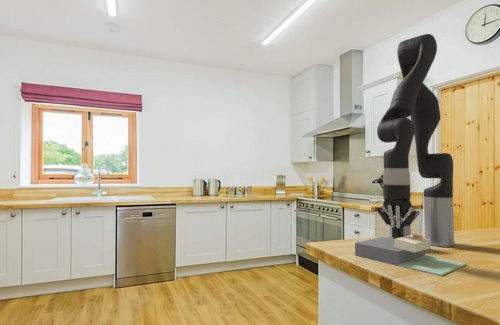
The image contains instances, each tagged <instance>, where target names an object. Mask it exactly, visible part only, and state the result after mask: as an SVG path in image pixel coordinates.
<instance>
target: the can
mask: <svg viewBox="0 0 500 325" xmlns="http://www.w3.org/2000/svg"><path fill="white" fill-rule="evenodd" d="M408 213H409V212H408ZM408 213H407V214H406V216H405V219H406V218H407V217H408V216H409V214H408ZM411 225H412V223H411V224H410V226H406V227H404V228H403V234H404V237H405V236H409V235H411V236H412V232H411V231H412V230H411V229H412V228H411V227H412V226H411ZM386 227H387V228H386V229H387V237H388V238H393V237H392V227H391V226H390V225H387V224H386Z"/></svg>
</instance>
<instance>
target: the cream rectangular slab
mask: <svg viewBox="0 0 500 325" xmlns="http://www.w3.org/2000/svg"><path fill="white" fill-rule="evenodd" d="M394 247H395V248H399V249H403V250H406V251H410V252H414V253H415V252H419V251H422V250H425V251H426V250H428V249H431V245H430V239H425V237H424V236H423V234H420V233H413V234H411V235H409V236H405V237H400V238H396V239H394Z"/></svg>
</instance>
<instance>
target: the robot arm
mask: <svg viewBox="0 0 500 325" xmlns="http://www.w3.org/2000/svg"><path fill="white" fill-rule="evenodd" d="M396 50H397V52H396V53H397V60H398V64H399V65H398V66H399V68H400V72H401V75H402V80H401V82H400V83H399V84H398V85H397V86H396V88H395V90H394V92H393V95H392V98H391V102H390V105H389V108H388V109H387V110H386V111H385V113H384V115H383V116H382V117H381V119H380V121H379V123H378V125H377V130H376V133H377V137H378V139H379V140H380V142H382V143H388V144H389V143H395V145H394V147H393V148H390V149H387V150H385V151H384V152H383V173H382V174H383V175H382V176H383V177H382V183H383V184H382V185H383V187H382V188H383V191H382V192H383V202H382V205H381V206H380V207H377V208H376V212H377V213H378V214H379V216H380V217H381V219H382V220H383V221H384V223H385V225H386V226H387V225H390V226H391V227H392V237H393V238H394V239H396V238H400V237H404V234H403V228H404V227H406V226H410V224H411V225H412V223H413V222H414V221H415V220H416V218H417V217H418V216H419V215H420V213H421V212H420V211H419V210H416V209H415V208H414V207H413V205H412V203H411V176H410V169H409V166H410V165H409V164H410V163H409V157H410V155H409V154H410V151H411V147H412V143H413V140H414V142H415V143H414V144H415V152H416V160H417V161H416V163H417V170H418V173H419V175H420V177H421V178H422V179H440V180H439V182H438V183H437V184H435V185H433V186H431V187H427V188H424V189H423V213H424V214H423V219H424V238H425V239H430V246H436V247H443V248H445V247H447V248H448V247H454V246H455V243H456V242H455V221H454V219H455V217H454V216H455V215H454V195H453V194H454V159H453V157H452V155H451V153H448V152H443V153H441V152H440V153H429V143H430V141H431V138H432V136H433V134H434V132H435V130H436V129H437V127H438V126H439V123H440V121H441V111H440V110H441V109H440V103H439V99H438V98H437V96H436V95H435V93H434V92H433V91H432V90H431V89H430V88H429V87H428V86H427V85H426V84H425V83H424V81H425V79H426V77H427V75H428V73H429V71H430V68H431V67H432V65H433V63H434V61H435V58H436V56H437V51H438V44H437V41H436V38H435V37H434V35H433V34H432V33H425V34H421V35H418V36H415V37H411V38H408V39H405V40H403V41H401V42H399V44H398V45H397V49H396ZM409 117H410V118H409ZM407 213H408V217H407V218H406V219H405V216H406V214H407Z"/></svg>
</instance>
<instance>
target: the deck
mask: <svg viewBox="0 0 500 325" xmlns="http://www.w3.org/2000/svg"><path fill="white" fill-rule="evenodd" d="M354 253H355V254H354V255H355V256H357V257H360V258H363V259H369V260H373V261H376V262H380V263H386V264H389V265H394V266H397V267H399V266H398V264H401V263H404V262H407V261H410V260H413V259H416V258H419V257H422V256H425V255H426V249H425V250H422V251H419V252H415V253H414V252H410V251H406V250H403V249H399V248H395V247H394V238H388V236H379V237H376V238H375V237H374V238H371V239H365V240H360V241H356V242H354Z"/></svg>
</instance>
